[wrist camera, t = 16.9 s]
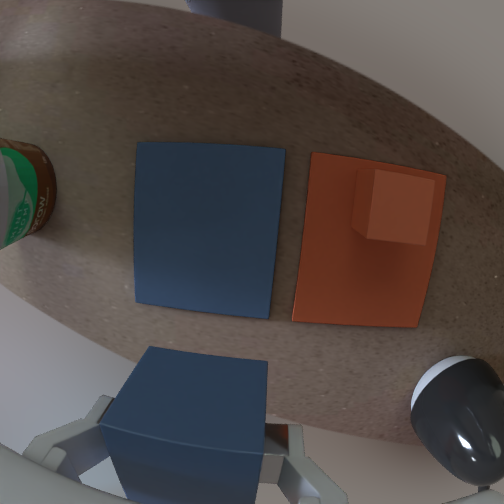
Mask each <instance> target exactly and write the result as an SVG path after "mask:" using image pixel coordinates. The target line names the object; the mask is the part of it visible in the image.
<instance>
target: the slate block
mask: <svg viewBox="0 0 504 504" xmlns="http://www.w3.org/2000/svg"><path fill="white" fill-rule="evenodd" d="M267 372H268V362H267V361H262V360H251V359H241V358H231V357H222V356H214V355H206V354H198V353H191V352H184V351H178V350H171V349H165V348H159V347H153V346H149V347H148V349H147V350H146V352H145V353H144V355H143V356H142V358H141V359H140V361H139V362H138V364H137V365H136V367H135V368H134V370H133V371H132V373H131V375H130V376H129V378H128V379H127V381H126V382H125V384H124V385H123V387H122V388H121V390H120V391H119V393H118V395H117V396H116V398H115V399H114V401H113V402H112V404H111V405H110V407H109V409H108V410H107V412H106V413H105V415H104V416H103V418H102V420H101V421H100V428H101V431H102V434H103V437H104V440H105V443H106V446H107V449H108V451H109V454H110V457H111V460H112V462H113V465H114V467H115V470H116V473H117V475H118V478H119V480H120V483H121V485H122V487H123V490H124V492H125V494H126V497H127V499H129V500H132V501H136V502H139V503H143V504H255V499H256V493H257V489H258V483H259V478H260V472H261V467H262V461H263V455H264V440H265V419H266V396H267Z"/></svg>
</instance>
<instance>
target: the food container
mask: <svg viewBox="0 0 504 504" xmlns="http://www.w3.org/2000/svg"><path fill="white" fill-rule="evenodd" d="M55 200H56V178H55V173H54V169H53V166H52V164H51V161H50V160H49V158H48V156H47V155H46V154H45V152H44V151H43V150H42V149H40V148H39V147H37V146H36V145H33V144H28V143H23V142H18V141H13V140H7V139H2V138H0V250H1V249H2V248H4V247H6V246H8V245H10V244H12V243H14V242H16V241H18V240H20V239H22V238H24V237H25V236H27V235H29V234H31V233H33V232H35V231H38V230H40V229H41V228H42V227H43V226H44V225H45V224H46V222H47V221H48V220H49V218H50V216H51V214H52V212H53V209H54V205H55Z"/></svg>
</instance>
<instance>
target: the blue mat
mask: <svg viewBox="0 0 504 504" xmlns="http://www.w3.org/2000/svg"><path fill="white" fill-rule="evenodd" d="M285 153H286V149H281V148H271V147H259V146H246V145H230V144H211V143H180V142H138V143H137V154H136V170H135V191H134V281H135V302H137V303H143V304H149V305H156V306H163V307H170V308H177V309H185V310H192V311H200V312H208V313H216V314H225V315H234V316H243V317H253V318H263V319H269V312H270V303H271V294H272V285H273V276H274V267H275V257H276V248H277V238H278V228H279V218H280V208H281V197H282V186H283V176H284V164H285Z"/></svg>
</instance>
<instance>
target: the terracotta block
mask: <svg viewBox="0 0 504 504" xmlns="http://www.w3.org/2000/svg"><path fill="white" fill-rule="evenodd" d="M434 185H435V181H434V180H430V179H425V178H420V177H415V176H410V175H405V174H400V173H395V172H389V171H384V170H378V169H358V170H357V180H356V189H355V197H354V206H353V214H352V221H351V227H352V228H353V229H355V230H356V231H357V232H359V233H360V234H361V235H363V236H364V237H365V238H367V239H373V240H381V241H390V242H398V243H406V244H414V245H422V246H425V245H426V240H427V234H428V229H429V222H430V216H431V209H432V202H433V194H434Z"/></svg>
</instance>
